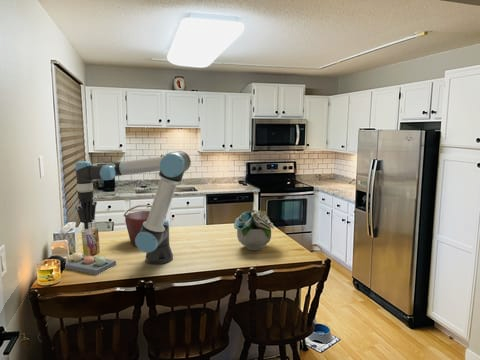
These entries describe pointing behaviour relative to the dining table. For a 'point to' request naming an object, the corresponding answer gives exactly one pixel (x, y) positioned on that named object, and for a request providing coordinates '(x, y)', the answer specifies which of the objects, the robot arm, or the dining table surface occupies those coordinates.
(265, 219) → the flower arrangement
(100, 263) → the sage button
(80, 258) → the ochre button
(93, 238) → the candy box
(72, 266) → the slate board
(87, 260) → the terracotta button
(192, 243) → the dining table surface
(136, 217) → the bucket
